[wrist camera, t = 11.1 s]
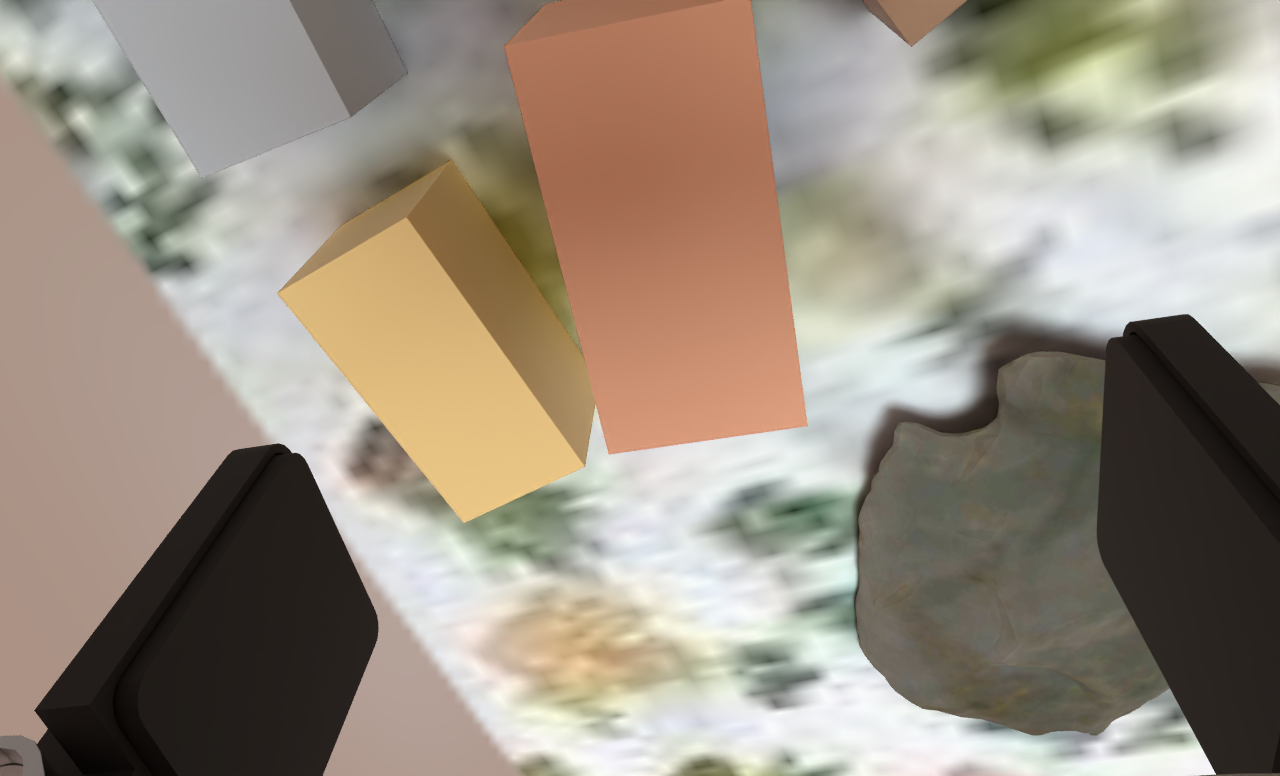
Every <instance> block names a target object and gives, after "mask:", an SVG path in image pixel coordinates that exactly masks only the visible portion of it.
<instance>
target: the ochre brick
mask: <svg viewBox="0 0 1280 776" xmlns="http://www.w3.org/2000/svg"><path fill="white" fill-rule="evenodd" d="M277 294H278V295H279V296H280V297H281V299H282V300H283V301H284V302H285V304H286V305H287V306H288V307H289V309H290V310H291V311H292V312H293V313H294V315H295V316H296V317H297V318H298V320H299V321H300V322H301V323H302V324H303V326H304V327H305V328H306V329H307V331H308V332H309V333H310V334H311V336H312V337H313V338H314V339H315V340H316V342H317V343H318V344H319V345H320V347H321V348H322V349H323V350H324V352H325V353H326V354H327V355H328V356H329V358H330V359H331V360H332V361H333V363H334V364H335V365H336V366H337V368H338V369H339V370H340V371H341V372H342V374H343V375H344V376H345V377H346V379H347V380H348V381H349V382H350V383H351V385H352V386H353V387H354V388H355V390H356V391H357V392H358V393H359V395H360V396H361V397H362V398H363V399H364V401H365V402H366V403H367V404H368V406H369V407H370V408H371V409H372V411H373V412H374V413H375V414H376V415H377V417H378V418H379V419H380V420H381V422H382V423H383V424H384V425H385V427H386V428H387V429H388V430H389V431H390V433H391V434H392V435H393V436H394V438H395V439H396V440H397V441H398V442H399V444H400V445H401V446H402V447H403V449H404V450H405V451H406V452H407V454H408V455H409V456H410V457H411V458H412V460H413V461H414V462H415V463H416V465H417V466H418V467H419V468H420V470H421V471H422V472H423V473H424V474H425V476H426V477H427V478H428V479H429V481H430V482H431V483H432V484H433V485H434V487H435V488H436V489H437V490H438V492H439V493H440V494H441V495H442V497H443V498H444V499H445V500H446V501H447V503H448V504H449V505H450V506H451V508H452V509H453V510H454V511H455V513H456V514H457V515H458V516H459V517H460V519H461V520H462V521H463V522H464V523H465V522H467V521H469V520H471V519H474V518H476V517H478V516H480V515H482V514H484V513H486V512H489V511H491V510H493V509H495V508H497V507H499V506H502V505H504V504H506V503H508V502H510V501H512V500H514V499H517V498H519V497H521V496H523V495H525V494H527V493H529V492H532V491H534V490H536V489H538V488H540V487H542V486H545V485H547V484H549V483H551V482H553V481H555V480H557V479H560V478H562V477H564V476H566V475H568V474H570V473H572V472H575V471H577V470H579V469H581V468H583V467H585V463H586V457H587V451H588V445H589V439H590V433H591V427H592V421H593V415H594V409H595V399H594V395H593V391H592V387H591V383H590V379H589V375H588V371H587V368H586V364H585V360H584V356H583V355H582V353H581V352H580V350H579V349H578V347H577V346H576V344H575V343H574V341H573V340H572V338H571V337H570V335H569V334H568V332H567V331H566V329H565V328H564V326H563V325H562V323H561V322H560V320H559V319H558V317H557V316H556V314H555V313H554V311H553V310H552V308H551V307H550V305H549V304H548V302H547V301H546V299H545V298H544V296H543V295H542V293H541V292H540V291H539V289H538V288H537V286H536V285H535V283H534V282H533V280H532V279H531V277H530V276H529V274H528V273H527V271H526V270H525V268H524V267H523V265H522V264H521V262H520V261H519V259H518V258H517V256H516V255H515V253H514V252H513V250H512V249H511V247H510V246H509V244H508V243H507V241H506V240H505V238H504V237H503V235H502V234H501V232H500V231H499V230H498V228H497V227H496V225H495V224H494V222H493V221H492V219H491V218H490V216H489V215H488V213H487V212H486V210H485V209H484V207H483V206H482V204H481V203H480V201H479V200H478V198H477V197H476V195H475V194H474V192H473V191H472V189H471V188H470V186H469V185H468V183H467V182H466V180H465V179H464V177H463V176H462V174H461V173H460V171H459V170H458V168H457V167H456V166H455V164H454V163H453V161H452V160H450V161H448V162H447V163H445V164H443V165H442V166H440V167H438V168H436V169H435V170H433V171H431V172H430V173H428V174H426V175H425V176H423V177H421V178H420V179H418V180H416V181H415V182H413V183H411V184H410V185H408V186H406V187H405V188H403V189H401V190H400V191H398V192H396V193H395V194H393V195H391V196H390V197H388V198H386V199H385V200H383V201H381V202H380V203H378V204H376V205H375V206H373V207H371V208H370V209H368V210H366V211H365V212H363V213H361V214H360V215H358V216H356V217H355V218H353V219H351V220H350V221H348V222H346V223H345V224H343V225H341V226H340V227H339V228H338V229H337V230H336V231H335V232H334V233H333V234H332V236H331V237H330V238H329V239H328V240H327V241H326V242H325V243H324V244H323V245H322V246H321V247H320V248H319V249H318V250H317V251H316V253H315V254H314V255H313V256H312V257H311V258H310V259H309V260H308V261H307V262H306V263H305V264H304V265H303V266H302V267H301V268H300V270H299V271H298V272H297V273H296V274H295V275H294V276H293V277H292V278H291V279H290V280H289V281H288V282H287V283H286V284H285V285H284V287H283V288H282V289H281V290H280V291H279V292H278V293H277Z"/></svg>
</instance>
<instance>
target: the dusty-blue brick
mask: <svg viewBox="0 0 1280 776" xmlns="http://www.w3.org/2000/svg"><path fill="white" fill-rule="evenodd" d="M92 1H93V3H94V5H95V6H96V8H97V9H98V11H99V13H100V14H101V16H102V17H103V19H104V21H105V22H106V24H107V26H108V27H109V29H110V30H111V32H112V34H113V35H114V37H115V39H116V40H117V42H118V43H119V45H120V47H121V48H122V50H123V52H124V53H125V55H126V56H127V58H128V60H129V61H130V63H131V64H132V66H133V68H134V69H135V71H136V73H137V74H138V76H139V77H140V79H141V81H142V82H143V84H144V86H145V87H146V89H147V90H148V92H149V94H150V95H151V97H152V98H153V100H154V102H155V103H156V105H157V107H158V108H159V110H160V111H161V113H162V115H163V116H164V118H165V120H166V121H167V123H168V124H169V126H170V128H171V129H172V131H173V133H174V134H175V136H176V137H177V139H178V141H179V142H180V144H181V145H182V147H183V149H184V150H185V152H186V154H187V155H188V157H189V158H190V160H191V162H192V163H193V165H194V167H195V168H196V170H197V171H198V173H199V175H200V176H201V178H203V177H206V176H208V175H211V174H213V173H215V172H218V171H220V170H223V169H225V168H228V167H230V166H233V165H235V164H237V163H240V162H242V161H245V160H247V159H250V158H252V157H255V156H257V155H260V154H262V153H264V152H267V151H269V150H272V149H274V148H277V147H279V146H282V145H284V144H286V143H289V142H291V141H294V140H296V139H299V138H301V137H304V136H306V135H308V134H311V133H313V132H316V131H318V130H321V129H323V128H326V127H328V126H331V125H333V124H335V123H338V122H340V121H343V120H345V119H348V118H350V117H352V116H353V115H354V114H356V113H357V112H358V111H359V110H361V109H362V108H363V107H365V106H366V105H367V104H368V103H370V102H371V101H372V100H374V99H375V98H376V97H378V96H379V95H380V94H381V93H383V92H384V91H385V90H387V89H388V88H389V87H390V86H392V85H393V84H394V83H396V82H397V81H398V80H399V79H401V78H402V77H403V76H405V75H406V74H407V70H406V68H405V66H404V64H403V62H402V60H401V58H400V56H399V54H398V52H397V50H396V48H395V46H394V44H393V42H392V39H391V37H390V35H389V33H388V31H387V29H386V27H385V25H384V23H383V21H382V19H381V17H380V15H379V13H378V10H377V8H376V6H375V4H374V2H373V0H92Z"/></svg>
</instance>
